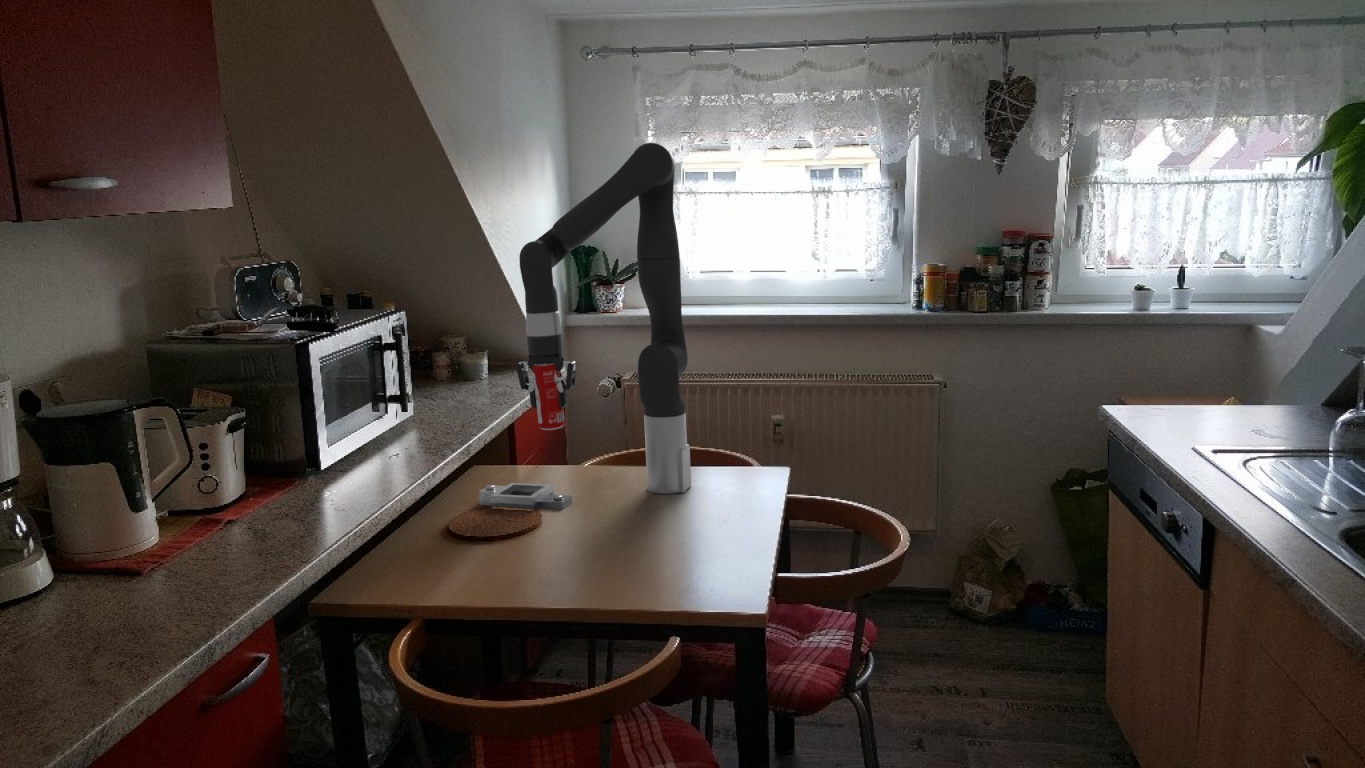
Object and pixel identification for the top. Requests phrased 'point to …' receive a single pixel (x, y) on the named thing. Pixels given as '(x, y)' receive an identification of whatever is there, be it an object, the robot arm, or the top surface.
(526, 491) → the bolted grey bracket
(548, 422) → the beverage can
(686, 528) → the top surface
